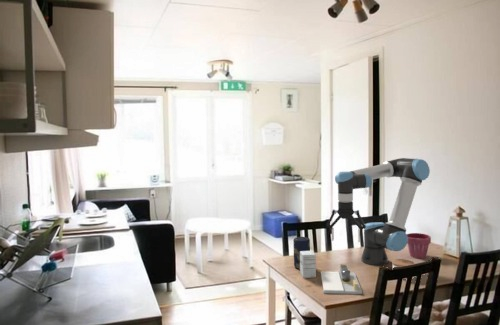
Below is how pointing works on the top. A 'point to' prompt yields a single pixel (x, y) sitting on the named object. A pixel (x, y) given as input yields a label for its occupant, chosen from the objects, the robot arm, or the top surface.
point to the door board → (339, 283)
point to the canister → (300, 248)
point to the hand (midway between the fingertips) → (345, 240)
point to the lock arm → (344, 272)
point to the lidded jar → (401, 263)
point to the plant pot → (418, 244)
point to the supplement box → (307, 264)
